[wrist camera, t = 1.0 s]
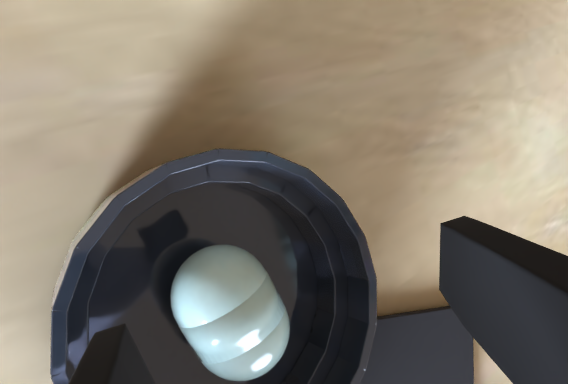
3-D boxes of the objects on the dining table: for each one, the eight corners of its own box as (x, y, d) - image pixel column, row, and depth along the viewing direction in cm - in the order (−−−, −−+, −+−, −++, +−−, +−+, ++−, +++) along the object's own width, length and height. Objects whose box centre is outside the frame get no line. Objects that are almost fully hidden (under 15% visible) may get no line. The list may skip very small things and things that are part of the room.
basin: (332, 412, 24) (378, 447, 21) (49, 486, 18) (47, 555, 14) (330, 164, 25) (376, 158, 21) (55, 151, 18) (54, 137, 15)
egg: (279, 325, 23) (324, 350, 19) (208, 382, 21) (242, 422, 17) (222, 223, 21) (259, 227, 18) (142, 274, 20) (162, 291, 16)
